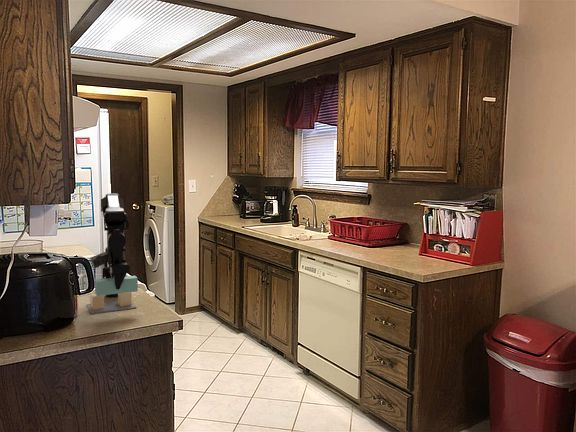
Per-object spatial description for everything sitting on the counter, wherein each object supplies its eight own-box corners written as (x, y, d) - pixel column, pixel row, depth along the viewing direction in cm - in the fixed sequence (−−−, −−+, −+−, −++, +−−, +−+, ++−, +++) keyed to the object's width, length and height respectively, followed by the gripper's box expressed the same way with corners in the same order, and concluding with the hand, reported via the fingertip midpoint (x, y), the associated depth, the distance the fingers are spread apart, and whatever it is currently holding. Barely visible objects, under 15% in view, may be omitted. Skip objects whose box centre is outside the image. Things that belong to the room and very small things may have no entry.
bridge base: (86, 305, 187) (86, 291, 186) (129, 300, 195) (129, 286, 194) (91, 314, 177) (91, 299, 176) (136, 308, 185) (136, 294, 184)
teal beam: (95, 293, 174) (94, 279, 173) (135, 288, 181) (135, 275, 180) (97, 296, 170) (96, 281, 170) (137, 291, 177) (137, 277, 177)
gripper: (87, 242, 178) (88, 284, 179) (96, 251, 162) (97, 296, 163) (119, 240, 183) (120, 281, 185) (130, 248, 167) (131, 293, 169)
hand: (116, 287), depth 175 cm, fingers closed on teal beam, 4 cm apart
